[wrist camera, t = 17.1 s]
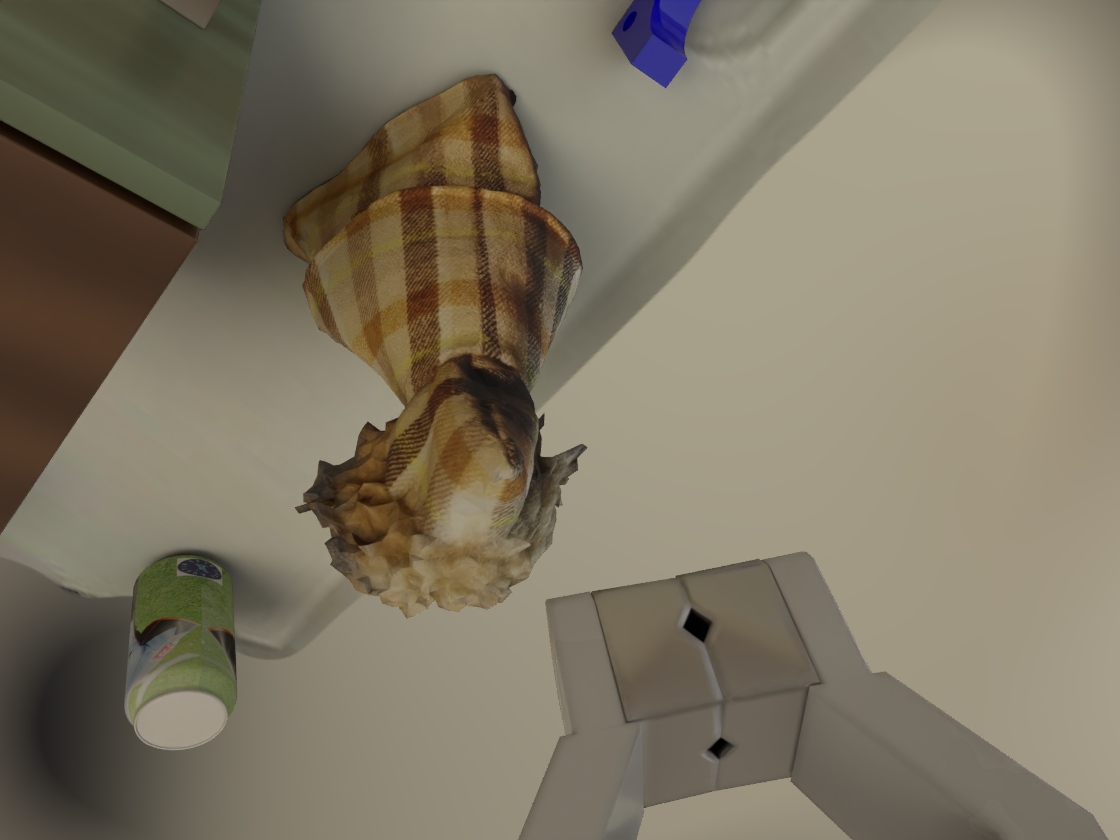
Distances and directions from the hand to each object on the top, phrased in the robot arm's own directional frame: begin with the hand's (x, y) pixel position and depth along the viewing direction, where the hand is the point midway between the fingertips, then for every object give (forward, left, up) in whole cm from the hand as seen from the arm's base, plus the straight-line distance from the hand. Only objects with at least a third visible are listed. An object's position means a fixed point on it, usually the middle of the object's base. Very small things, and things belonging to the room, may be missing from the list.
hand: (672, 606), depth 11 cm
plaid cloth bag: (+2, +15, -37) cm, 40 cm away
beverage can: (+22, +38, -37) cm, 58 cm away
